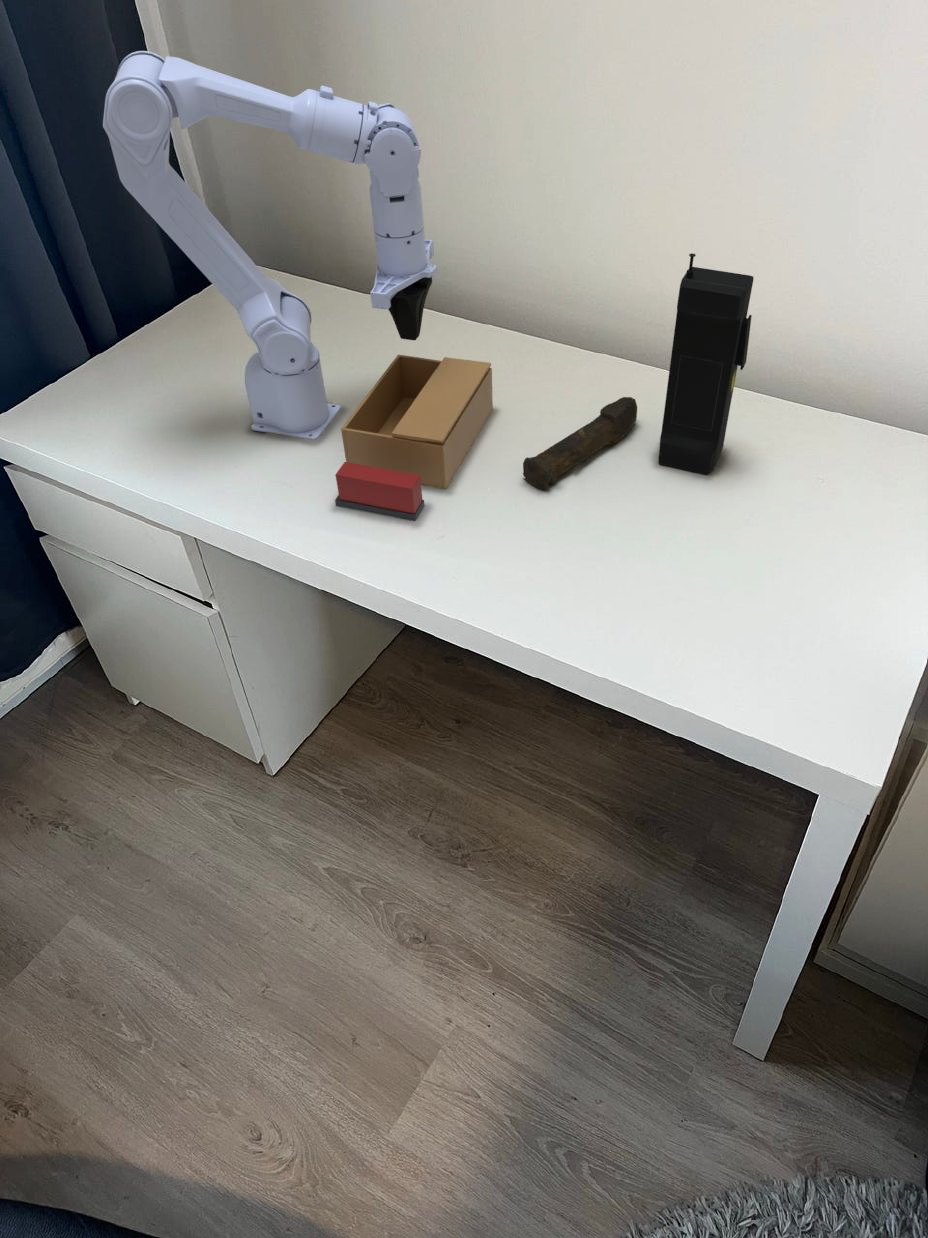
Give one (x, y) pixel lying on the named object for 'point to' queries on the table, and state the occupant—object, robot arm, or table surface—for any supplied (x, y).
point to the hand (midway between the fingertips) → (409, 336)
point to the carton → (387, 406)
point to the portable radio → (704, 366)
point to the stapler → (379, 491)
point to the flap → (442, 400)
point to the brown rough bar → (581, 443)
